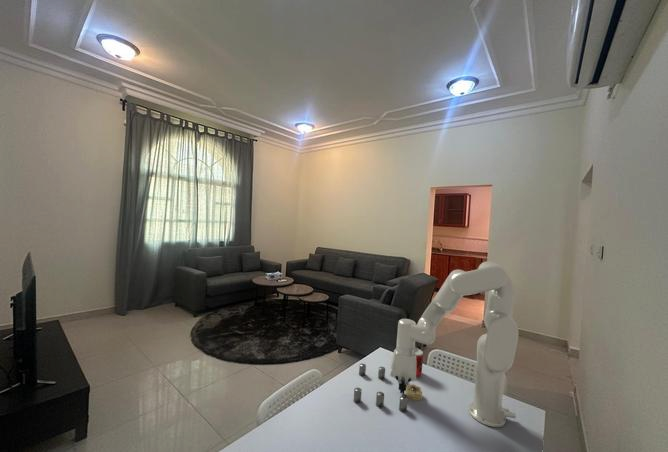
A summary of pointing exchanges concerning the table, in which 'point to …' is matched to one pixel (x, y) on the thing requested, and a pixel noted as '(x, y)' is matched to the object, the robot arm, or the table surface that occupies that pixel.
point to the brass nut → (413, 392)
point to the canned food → (419, 362)
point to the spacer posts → (379, 394)
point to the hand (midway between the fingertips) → (402, 391)
